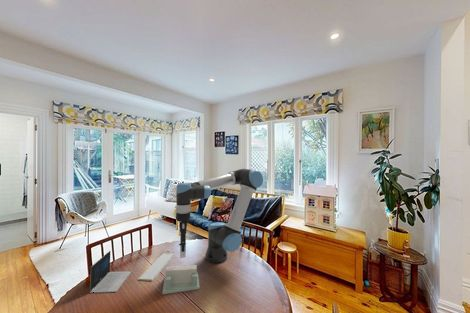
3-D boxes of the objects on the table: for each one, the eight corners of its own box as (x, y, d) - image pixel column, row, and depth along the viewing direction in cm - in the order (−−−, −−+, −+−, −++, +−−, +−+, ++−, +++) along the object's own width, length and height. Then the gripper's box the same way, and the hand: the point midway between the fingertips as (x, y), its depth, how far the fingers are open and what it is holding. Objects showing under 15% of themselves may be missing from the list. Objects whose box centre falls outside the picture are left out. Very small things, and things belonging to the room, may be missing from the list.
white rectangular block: (196, 277, 110) (196, 265, 110) (196, 282, 106) (196, 269, 106) (166, 279, 108) (166, 266, 108) (164, 284, 104) (165, 270, 104)
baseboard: (134, 280, 109) (152, 282, 108) (135, 275, 109) (152, 277, 108) (160, 254, 139) (174, 255, 138) (160, 250, 139) (174, 251, 138)
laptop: (116, 292, 99) (116, 266, 99) (89, 293, 98) (90, 267, 98) (131, 272, 117) (132, 250, 117) (109, 273, 116) (109, 250, 116)
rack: (197, 273, 116) (197, 263, 116) (199, 288, 103) (199, 276, 103) (164, 277, 111) (165, 266, 112) (162, 294, 98) (162, 281, 98)
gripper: (176, 206, 119) (176, 242, 119) (175, 219, 95) (174, 263, 95) (189, 206, 121) (188, 241, 121) (191, 218, 97) (190, 261, 97)
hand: (182, 251), depth 108 cm, fingers open, 13 cm apart
